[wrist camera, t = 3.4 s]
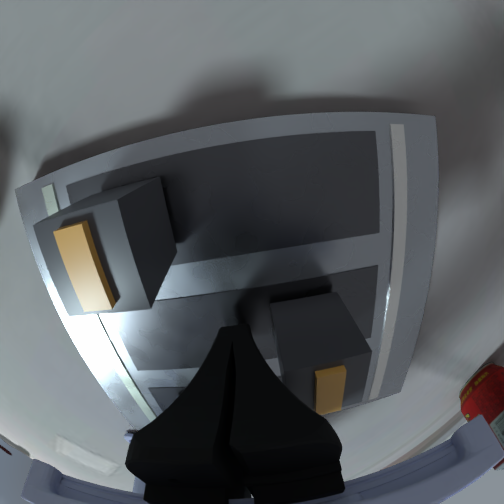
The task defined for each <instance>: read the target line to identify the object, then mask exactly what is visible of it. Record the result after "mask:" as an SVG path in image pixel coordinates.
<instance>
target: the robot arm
mask: <svg viewBox="0 0 504 504" xmlns="http://www.w3.org/2000/svg"><path fill="white" fill-rule="evenodd" d="M124 438H125V439H126V440H127V441H128V442H129V443H130V445H129V449H128V453H127V457H126V462H125V465H126V467H127V469H128V470H129V471H130V472H131V473H132V474H134V475H135V480H134V486H133V492H128V491H123V490H118V489H114V488H109V487H105V486H101V485H97V484H93V483H90V482H86V481H83V480H79V479H76V478H73V477H70V476H67V475H64V474H62V473H61V472H60V471H59V470H57V469H56V468H55V467H53V466H51V465H49V464H47V463H44V462H42V461H39V460H37V459H33V462H32V464H31V467H30V470H29V473H28V476H27V479H26V482H25V485H24V488H23V491H22V494H21V497H22V498H23V499H25V500H26V501H28V502H30V503H31V504H439V503H441V502H443V501H445V500H446V499H448V498H450V497H451V496H453V495H455V494H456V493H458V492H460V491H461V490H463V489H464V488H466V487H467V486H469V485H470V484H472V483H473V482H475V481H476V480H477V479H479V478H480V477H481V476H482V475H484V474H485V473H486V472H488V471H489V470H490V469H491V468H493V467H494V466H495V465H496V464H497V463H498V462H500V461H501V460H502V459H503V458H504V450H503V449H502V447H501V445H500V443H499V442H498V440H497V438H496V437H495V435H494V433H493V432H492V430H491V428H490V427H489V425H488V423H487V422H486V420H485V419H484V417H483V416H482V415H479V416H477V417H476V418H474V419H472V420H471V421H469V422H468V423H466V424H464V425H463V426H461V427H460V428H459V429H457V430H456V431H455V432H454V434H453V435H452V437H451V439H449V440H447V441H445V442H443V443H441V444H440V445H438V446H436V447H434V448H432V449H430V450H428V451H426V452H424V453H421V454H419V455H417V456H415V457H413V458H410V459H408V460H406V461H403V462H401V463H399V464H396V465H394V466H391V467H388V468H386V469H383V470H380V471H378V472H375V473H372V474H369V475H366V476H363V477H359V478H356V479H353V480H349V481H346V482H344V481H343V478H342V474H341V470H342V469H341V465H340V461H339V459H340V456H341V452H342V444H341V442H340V439H339V437H338V436H337V434H336V432H335V431H334V429H333V428H332V426H331V425H330V424H329V422H328V421H327V420H326V419H325V418H324V417H322V416H321V415H319V414H318V413H316V412H315V411H313V410H312V409H311V408H309V407H308V406H307V405H306V404H304V403H303V402H302V401H301V400H300V399H299V398H297V397H296V396H295V395H294V394H293V393H292V392H291V391H290V390H289V389H288V388H287V387H286V386H285V385H284V384H283V383H282V382H281V381H280V379H279V378H278V377H277V376H276V375H275V373H274V372H273V371H272V369H271V368H270V367H269V365H268V364H267V362H266V361H265V359H264V358H263V356H262V354H261V353H260V351H259V349H258V347H257V345H256V343H255V341H254V339H253V336H252V333H251V328H250V325H249V324H240V325H233V326H226V327H221V328H220V329H219V331H218V333H217V336H216V338H215V340H214V342H213V345H212V347H211V349H210V351H209V352H208V354H207V356H206V358H205V360H204V362H203V363H202V365H201V366H200V368H199V370H198V371H197V373H196V374H195V376H194V377H193V379H192V380H191V382H190V383H189V384H188V385H187V387H186V388H185V389H184V391H183V392H182V393H181V394H180V395H179V396H178V397H177V398H176V400H175V401H174V402H173V403H172V404H171V405H170V406H169V407H168V408H167V409H166V410H164V411H163V412H162V413H161V414H160V415H159V416H158V417H157V418H155V419H154V420H153V421H152V422H150V423H149V424H147V425H146V426H145V427H143V428H142V429H140V430H139V431H137V432H136V433H134V434H131V433H126V434H125V435H124ZM251 494H252V496H253V497H254V498H251Z"/></svg>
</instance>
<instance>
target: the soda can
mask: <svg viewBox="0 0 504 504" xmlns="http://www.w3.org/2000/svg"><path fill="white" fill-rule="evenodd" d="M459 398H460V399H461V412H462V413H463V415H464V417H465V418H466V420H467V422H469V421H471V420H472V419H474V418H476V417H477V416H479V415H482V416H483V417H484V419H485V420H486V422H487V423H488V425H489V427H490V428H491V430H492V432H493V433H494V435H495V437H496V438H497V440H498V442H499V443H500V445H501V447H502V449H503V450H504V367H502V366H497V365H495V364H494V363H492V362H491V363H488V364H486V365H485V366H483V367H482V368H480V369H479V370H478V371H477V372H476V373H475V374H474V375H473V376H472V377H471V378H470V379H469V380H468V382H467V383H466V384H465V385H464V387H463V388H462V390H461V392H460V394H459ZM493 468H494V469H495V470H500V469H504V458H503V459H502V460H501V461H500V462H498V463H497V464H496V465H495V466H494V467H493Z"/></svg>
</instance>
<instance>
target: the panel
mask: <svg viewBox="0 0 504 504" xmlns="http://www.w3.org/2000/svg"><path fill="white" fill-rule="evenodd" d="M156 177H160V179H161V184H162V188H163V193H164V198H165V202H166V207H167V211H168V215H169V220H170V224H171V228H172V232H173V236H174V240H175V244H176V248H177V254H176V256H175V258H174V260H173V262H172V264H171V266H170V268H169V271H168V273H167V275H166V277H165V279H164V281H163V284H162V286H161V288H160V290H159V292H158V295H157V297H156V299H155V302H154V304H153V306H152V308H151V309H147V310H138V311H128V312H118V313H107V314H95V315H82V316H68V314H67V312H66V310H65V308H64V306H63V304H62V302H61V299H60V297H59V295H58V293H57V290H56V288H55V286H54V283H53V281H52V279H51V276H50V274H49V271H48V269H47V266H46V263H45V261H44V258H43V255H42V252H41V250H40V247H39V244H38V241H37V238H36V234H35V231H34V228H33V225H34V224H36V223H37V222H39V221H41V220H43V219H45V218H46V217H48V216H50V215H52V214H54V213H56V212H58V211H60V210H62V209H64V208H66V207H68V206H70V205H72V204H74V203H76V202H78V201H80V200H82V199H84V198H86V197H88V196H90V195H93V194H96V193H99V192H103V191H106V190H110V189H113V188H117V187H121V186H124V185H128V184H132V183H136V182H140V181H144V180H148V179H152V178H156ZM438 191H439V166H438V142H437V128H436V118H435V116H430V115H420V114H407V113H390V112H324V113H306V114H292V115H281V116H271V117H263V118H255V119H247V120H240V121H234V122H227V123H221V124H216V125H210V126H205V127H200V128H195V129H190V130H185V131H181V132H177V133H172V134H168V135H164V136H160V137H156V138H152V139H148V140H145V141H141V142H138V143H134V144H131V145H127V146H124V147H121V148H117V149H114V150H111V151H108V152H105V153H102V154H99V155H96V156H93V157H90V158H88V159H85V160H82V161H80V162H77V163H74V164H72V165H69V166H67V167H64V168H62V169H59V170H57V171H54V172H52V173H50V174H47V175H45V176H43V177H40V178H38V179H36V180H34V181H32V182H30V183H27V184H25V185H23V186H21V187H19V188H17V189H15V193H16V197H17V201H18V205H19V209H20V213H21V217H22V220H23V224H24V227H25V231H26V234H27V237H28V240H29V243H30V246H31V249H32V252H33V255H34V257H35V260H36V263H37V265H38V268H39V271H40V273H41V276H42V278H43V280H44V283H45V285H46V287H47V290H48V292H49V294H50V297H51V299H52V301H53V303H54V305H55V307H56V309H57V311H58V313H59V315H60V317H61V319H62V321H63V323H64V325H65V327H66V329H67V331H68V333H69V335H70V336H71V338H72V340H73V342H74V344H75V345H76V347H77V349H78V350H79V352H80V354H81V355H82V357H83V359H84V360H85V362H86V364H87V365H88V367H89V368H90V370H91V371H92V373H93V375H94V376H95V378H96V379H97V381H98V382H99V383H100V385H101V386H102V388H103V389H104V391H105V392H106V393H107V395H108V396H109V398H110V399H111V400H112V402H113V403H114V404H115V406H116V407H117V408H118V410H119V411H120V412H121V413H122V415H123V416H124V417H125V418H126V420H127V421H128V422H129V423H130V425H131V426H132V427H133V428H134V429H142V428H143V427H145V426H146V425H147V424H149V423H150V422H152V421H153V420H154V419H155V418H157V417H158V416H159V415H160V414H161V413H162V412H163V411H164V410H166V409H167V408H168V407H169V406H170V405H171V404H172V403H173V402H174V399H176V398H177V397H178V396H179V395H180V394H181V393H182V392H183V391H184V389H185V388H186V387H187V385H188V384H189V383H190V382H191V380H192V379H193V377H194V376H195V374H196V373H197V371H198V370H199V368H200V366H201V365H202V363H203V362H204V360H205V358H206V356H207V354H208V352H209V351H210V349H211V347H212V345H213V342H214V340H215V338H216V336H217V333H218V331H219V329H220V328H221V327H226V326H233V325H240V324H249V325H250V328H251V333H252V336H253V339H254V341H255V343H256V345H257V347H258V349H259V351H260V353H261V354H262V356H263V358H264V359H265V361H266V362H267V364H268V365H269V367H270V368H271V369H272V371H273V372H274V373H275V375H276V376H277V377H278V378H279V379H280V381H281V382H282V379H281V374H280V368H279V363H278V358H277V352H276V345H275V337H274V330H273V322H272V315H271V307H270V304H271V303H277V302H283V301H288V300H294V299H300V298H306V297H311V296H316V295H322V294H327V293H332V292H337V293H338V294H339V296H340V298H341V299H342V301H343V302H344V304H345V306H346V307H347V309H348V311H349V312H350V314H351V316H352V317H353V319H354V321H355V322H356V324H357V326H358V328H359V329H360V331H361V333H362V334H363V336H364V338H365V340H366V341H367V343H368V345H369V347H370V348H371V350H372V356H371V361H370V366H369V372H368V376H367V381H366V386H365V390H364V395H363V399H362V402H360V403H356V404H353V405H349V406H345V407H342V408H341V410H345V409H348V408H352V407H356V406H359V405H362V404H366V403H369V402H372V401H375V400H379V399H382V398H385V397H387V396H390V395H393V394H396V393H399V392H400V391H401V389H402V386H403V383H404V380H405V377H406V374H407V371H408V368H409V365H410V362H411V359H412V355H413V352H414V349H415V345H416V341H417V338H418V334H419V330H420V326H421V322H422V318H423V313H424V309H425V304H426V299H427V294H428V289H429V283H430V277H431V271H432V264H433V257H434V249H435V240H436V229H437V215H438ZM341 410H339V411H341ZM335 412H337V411H335ZM331 413H333V412H331ZM327 414H329V413H327ZM323 415H324V414H323Z"/></svg>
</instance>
